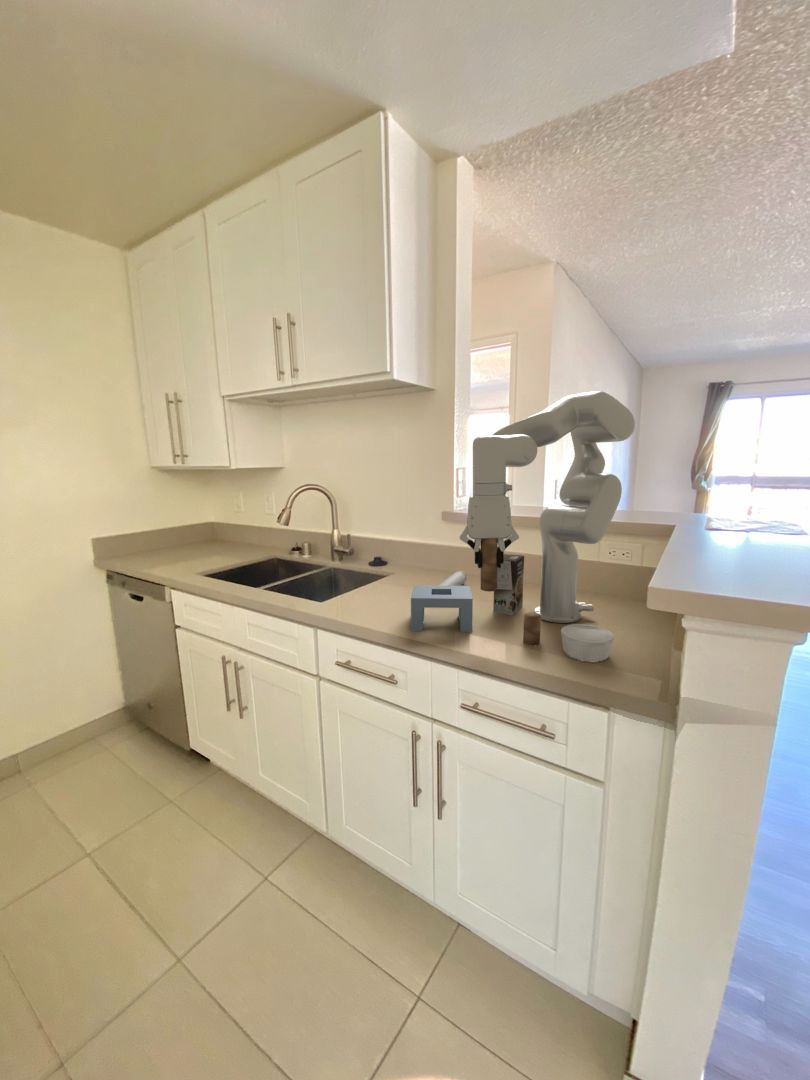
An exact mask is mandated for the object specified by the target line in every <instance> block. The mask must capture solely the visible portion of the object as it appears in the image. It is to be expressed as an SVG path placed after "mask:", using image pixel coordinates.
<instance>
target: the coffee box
mask: <svg viewBox="0 0 810 1080" xmlns="http://www.w3.org/2000/svg"><path fill="white" fill-rule="evenodd" d="M524 567H525V555H523V554H522V555H521V554H519V555H518V554H505V553H504V563H503V564H501V568H498V567H497V590H496V591H493V604H492V605H493V609H492V610H493V613H499V614H504V615H508V616H514V615H515V614H516V613H517V612H518V611H519V610H520V609H522V608H523V605H524V604H523V601H524V599H523V598H524V575H525V574H524V570H525V568H524Z"/></svg>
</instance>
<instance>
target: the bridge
mask: <svg viewBox="0 0 810 1080" xmlns="http://www.w3.org/2000/svg"><path fill="white" fill-rule="evenodd" d="M471 590H472V589H471V586H470V585H461V586H438V585H422V584H421V585H419V584H417V585H413V587H412V592H411V596H410V627H411V628H410V629H411V630H410V631H412V632H423V630H424V623H423V622H424V621H425V620H424V619H425V608H426V609H427V608H432V609H433V608H434V609H435V608H436V609H437V608H439V609H440V608H441V609H448V608H449V609H458V619H459V620H458V621H459V628H460V630H459V631H460V632H461V633H462V632H463V633H464V632H465V633H467V632H468V633H470V632H471V633H472V632H473V611H474V610H473V606H474V605H473V601H474V600H473V594H472V591H471Z"/></svg>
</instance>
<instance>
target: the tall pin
mask: <svg viewBox="0 0 810 1080" xmlns="http://www.w3.org/2000/svg"><path fill="white" fill-rule="evenodd" d="M480 550H481V568H480V590H481V591H484V592H494V591H496V590H497V551H498V539H494V538H486V539H481V543H480Z"/></svg>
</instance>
